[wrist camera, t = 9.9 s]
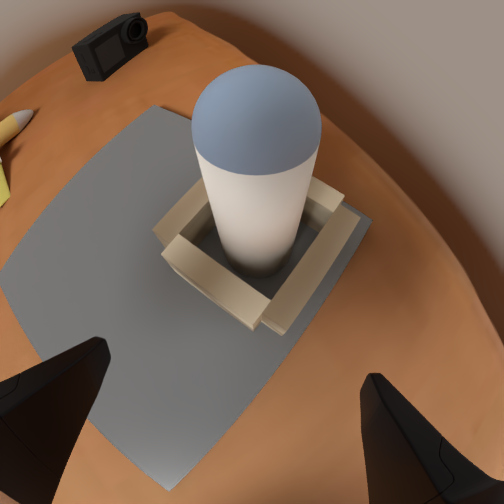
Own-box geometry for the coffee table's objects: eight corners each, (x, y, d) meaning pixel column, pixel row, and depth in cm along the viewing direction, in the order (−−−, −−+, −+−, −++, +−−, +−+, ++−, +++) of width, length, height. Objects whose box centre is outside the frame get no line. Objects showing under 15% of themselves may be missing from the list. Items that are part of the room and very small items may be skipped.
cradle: (351, 231, 18) (365, 208, 16) (274, 346, 16) (277, 342, 13) (244, 166, 21) (242, 138, 18) (159, 258, 18) (143, 239, 15)
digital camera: (108, 82, 29) (92, 43, 23) (86, 81, 30) (70, 46, 24) (154, 46, 33) (145, 10, 26) (131, 47, 34) (121, 14, 27)
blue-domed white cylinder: (305, 256, 18) (363, 95, 7) (244, 290, 17) (218, 144, 6) (269, 204, 19) (277, 36, 8) (211, 233, 19) (161, 69, 7)
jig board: (368, 226, 20) (372, 220, 19) (173, 486, 13) (169, 491, 12) (156, 111, 25) (154, 104, 24) (3, 280, 18) (-4, 277, 18)
